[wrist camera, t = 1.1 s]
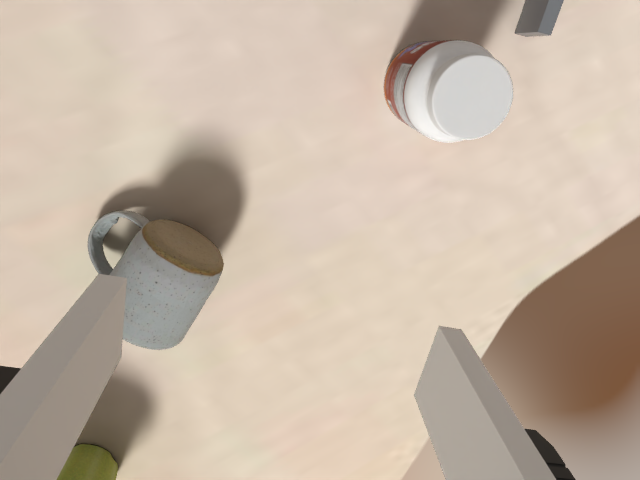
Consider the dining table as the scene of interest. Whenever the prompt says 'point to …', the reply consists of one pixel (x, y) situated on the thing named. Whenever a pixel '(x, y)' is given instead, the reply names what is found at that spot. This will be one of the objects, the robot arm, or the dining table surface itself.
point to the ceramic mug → (159, 277)
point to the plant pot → (89, 464)
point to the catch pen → (538, 17)
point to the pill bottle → (448, 90)
